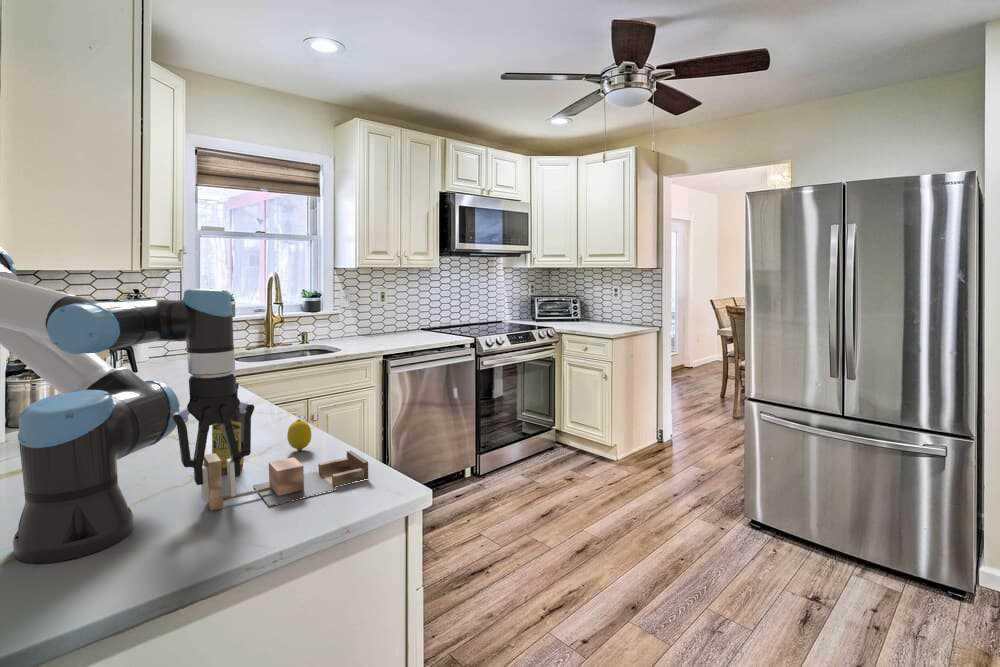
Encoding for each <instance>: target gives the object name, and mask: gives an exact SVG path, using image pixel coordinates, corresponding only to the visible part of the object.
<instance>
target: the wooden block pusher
mask: <svg viewBox="0 0 1000 667" xmlns="http://www.w3.org/2000/svg"><path fill="white" fill-rule="evenodd" d="M203 464H206V466H207V468H208V485H209V502H207V503H206V504H207V506H208V509H209V510H210V511H211V512H212V511H216V510H219V509H223V508H224V501H229V500H233V499H234V500H235V499H237V498H242V497H246V496H251V495H255V494H258V493H260V492H264V491H269V490H273V491H274V492H275V493H276V494H277V496H280V495H285V494H289V493H293V492H297V491H301V490H304V474H305V473H304V472H305V471H304V465H303V464H302V463H301V462H299V460H298V459H296V457H289V458H288V457H287V458H284V459H280V460H279V459H278V460H275V461H270V462H269V461H268V482H269V486H270V487H266V488H261V489H257V490H255V489H254V490H253V489H252V490H249V491H244V492H239V493H236V496H233V497H231V495H230V494H229V495H226V496H223V477H222V475H223V474H221V460H220V459H219V457H218V456H217V454H216V453H213V454H212V453H208V454H205V455H204V461H203Z"/></svg>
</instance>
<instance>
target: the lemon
mask: <svg viewBox="0 0 1000 667" xmlns="http://www.w3.org/2000/svg"><path fill="white" fill-rule="evenodd" d="M286 434H287V435H286V436H287V438H286V439H287V442H288V444H289V446H290V447H292V448H293V449H296V450H297V451H299V452H301V451H302V450H303V449H305V448H306V447H308V445H309V444H310V443H311V439H312V430H311V427H310V425H309V423H308V422H306V420H301V419H300V418H299V419H296V420H295V421H293V422H292V423H291V424H290V425H289V427H288V430H287V433H286ZM300 450H301V451H300Z"/></svg>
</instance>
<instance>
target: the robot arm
mask: <svg viewBox="0 0 1000 667" xmlns="http://www.w3.org/2000/svg"><path fill="white" fill-rule="evenodd" d="M14 263H15V262H14V261H13V258H12V257H11V255H9V253H8V252H7V251H6V250H5V249H3V247H2V246H0V345H1V346H2V347H3V348H4V349H5V350H7V351H8V352H9V353H10V354H12V355H13V356H14V357H15V358H17V359H18V360H20V362H21V363H23V364H24V365H26V366H27V368H29V369H30V370H31V371H33V372H34V373H35V374H36V375H38V376H39V377H40V378H41V379H42V380H44V381H45V382H46V383H47V384H49V386H51V387H52V388H53V389H54V390H56V391H57V392H58V394H54V395H51V396H47V397H44V398H41V399H39V400H36V401H33V402H32V403H31V404H29V405H27V406H26V407H25V408H24V409H23V410H22V411H21V412H20V414H19V417H18V418H19V419H18V433H17V440H18V443H19V453H20V460H21V461H20V462H21V471H22V472H21V473H22V478H23V479H22V480H23V490H24V491H23V492H24V505H23V506H24V507H23V509H22V512H21V515H20V518H19V519H20V520H19V522H18V526H17V530H16V533H15V534H14V536H13V541H12V547H13V556H14V558H15V559H16V560H18V561H20V562H24V563H28V564H29V563H31V564H46V563H55V562H62V561H68V560H72V559H76V558H77V559H78V558H81V557H84V556H88V555H91V554H94V553H97V552H99V551H102V550H104V549H106V548H109V547H111V546H113V545H115V544H117V543H119V542H120V541H122V540H124V539H125V538H127V536H128V535H130V534H131V532H132V531H133V530H134V515H133V514H134V513H133V511H132V510H131V508H130V507H129V506H128V503H127V501H126V499H125V497H124V495H123V492H122V490H121V488H120V485H119V479H118V462H117V461H118V460H121V459H122V458H123V457H126V456H129V455H131V454H134V453H136V452H137V451H140V450H142V449H145V448H146V447H151V446H153V445H155V444H157V443H159V442H161V440H163V439H165V438H167V437H168V436H169V435H170V434H172V433H173V431H174V430H175V428H176V429H177V436H178V437H177V438H178V445H179V451H180V459H181V460H180V461H181V463H182V466H183V467H185V468H192V469H193V475H194V477H193V478H194V482H195V484H196V486H200V485H201V498H202V501H203V502H204V504H207V502H209V485H208V468H207V466H206V464H204V455H206V454H205V453H206V447H207V440H208V434H209V431H210V426H212V425H213V424H216V423H217V424H222V426H223V430H224V433H225V437H226V440H227V444H228V448H229V451H230V455H231V459H227V474H226V475H227V491H228V493H229V496H230V495H231V497H233V496H236V494H237V492H236V491H237V490H236V478H237V477H239V478H240V477H241V470H242V469H240V461H241V458H243V457H244V458H245V457H248V456H251V453H252V452H251V446H252V445H251V444H252V443H251V442H252V432H251V431H252V415H253V413H254V411H255V408H256V407H255V405H254V403H252V402H250V401H247V402H244V401H241V400H240V398H239V396H238V397H237V393H236V382H237V381H236V380H237V378H236V377H237V376H236V374H235V373H234V371H235V370H236V362H235V361H236V358H235V344H234V325H233V323H234V322H233V320H234V319H233V317H234V312H233V305H232V297H231V293H230V291H228V290H227V289H224V288H190V289H189V288H188V289H185V290H184V292H183V298H182V299H156V298H155V299H150V298H135V299H134V298H133V299H126V300H125V299H124V300H123V301H108V302H107V301H106V302H105V301H99V300H98V301H97V300H93V299H90V298H85V297H81V296H77V295H76V294H75V295H74V294H70V293H67V292H62V291H58V290H54V289H51V288H47V287H43V286H39V285H35V284H32V283H27V282H23V281H19V278H18V277H17V268H15V267H14V268H13V265H14ZM153 342H186V352H187V353H186V354H187V369H188V372H187V373H188V374H190V375H191V376H189V378H188V390H189V392H188V393H189V401H188V404H187V405H186V408H184V409H182V410H180V406H181V405H180V401H179V399H178V397H177V394H176V393H175V391H174V390H173V388H171V387H170V386H169V385H168V384H166V383H164V382H161V381H157V380H145V381H144V379H142V378H140V377H139V376H138V375H136V374H135V373H134V372H133V371H132V370H130V369H129V368H128V367H113V366H112V365H110V364H109V363H108V362H107V361H106V360H104V358H101V357H99V356H98V355H97V354H96V353H97V352H101V351H104V350H109V351H110V350H115V349H118V348H124V347H125V348H126V347H131V346H135V345H142V344H149V343H153ZM238 407H239V411H240V413H242V414H241V449H240V450H238V446H237V443H236V439H235V435H234V432H233V428H232V423H231V419H230V418H231V417H232V415H233V414H234V412H235V411H236V409H237V408H238ZM190 414H191V415H192V416H193V417H194V418H195V419H196V420H197V421H198V429H197V434H196V443H195V448H194V453H193V454H194V455H193V458H191V452H190V442H189V436H188V435H189V434H188V429H187V428H188V427H187V425H186V423H187V422H188V421H189V415H190Z"/></svg>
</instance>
